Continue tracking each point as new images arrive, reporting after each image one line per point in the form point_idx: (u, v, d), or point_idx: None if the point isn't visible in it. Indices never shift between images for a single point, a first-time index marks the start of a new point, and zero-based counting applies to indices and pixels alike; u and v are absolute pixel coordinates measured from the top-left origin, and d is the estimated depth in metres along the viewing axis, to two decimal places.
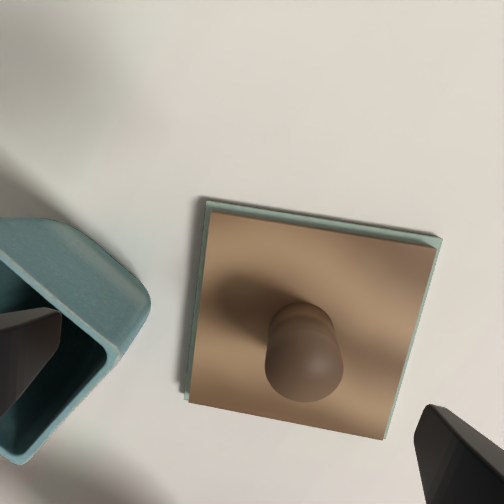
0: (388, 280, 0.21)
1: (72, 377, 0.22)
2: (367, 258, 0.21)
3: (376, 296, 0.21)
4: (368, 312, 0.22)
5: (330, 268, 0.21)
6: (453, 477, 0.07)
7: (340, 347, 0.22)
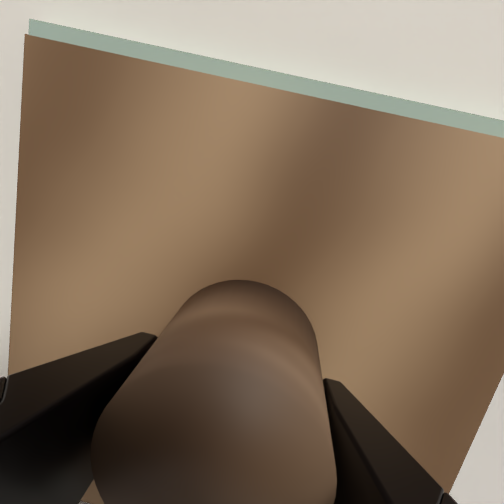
0: (109, 151, 0.09)
1: None
2: (59, 200, 0.09)
3: (149, 179, 0.09)
4: (191, 198, 0.09)
5: (89, 280, 0.10)
6: None
7: (282, 267, 0.09)
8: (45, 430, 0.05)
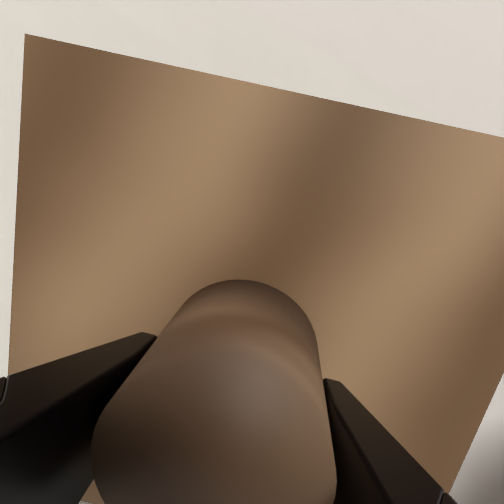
0: (109, 150, 0.09)
1: None
2: (59, 200, 0.09)
3: (149, 179, 0.09)
4: (191, 197, 0.09)
5: (89, 280, 0.10)
6: None
7: (282, 267, 0.09)
8: (45, 430, 0.05)
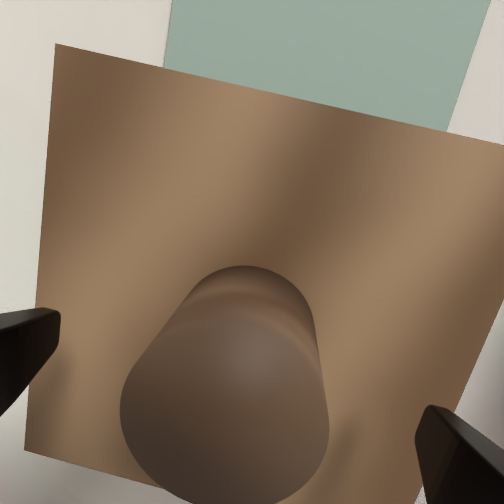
0: (129, 149, 0.10)
1: None
2: (83, 192, 0.10)
3: (164, 174, 0.10)
4: (202, 191, 0.10)
5: (108, 265, 0.11)
6: (454, 477, 0.07)
7: (283, 254, 0.10)
8: None
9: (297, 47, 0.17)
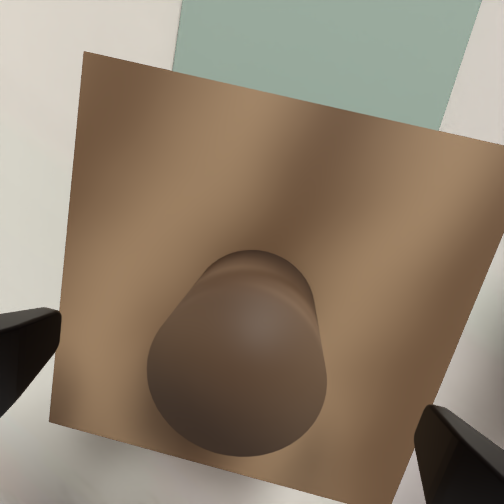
0: (148, 144, 0.11)
1: None
2: (107, 184, 0.11)
3: (180, 168, 0.11)
4: (213, 182, 0.11)
5: (128, 250, 0.12)
6: (453, 477, 0.07)
7: (286, 239, 0.11)
8: None
9: (298, 51, 0.18)
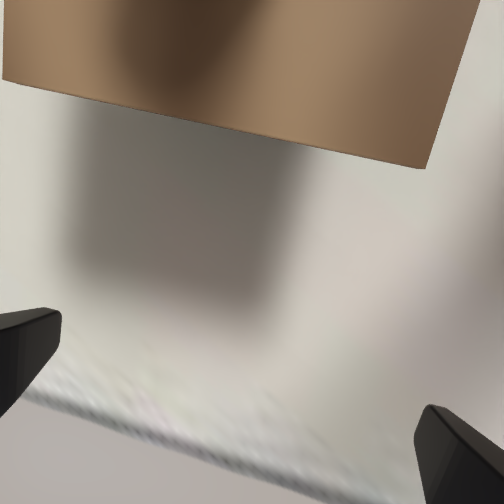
0: None
1: None
2: None
3: None
4: None
5: None
6: (453, 477, 0.07)
7: None
8: None
9: None
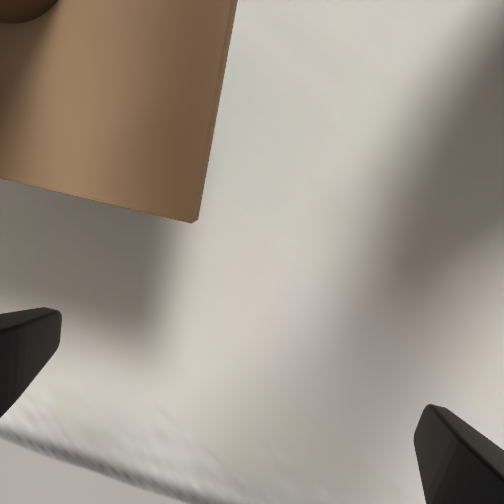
0: None
1: None
2: None
3: None
4: None
5: None
6: (453, 477, 0.07)
7: None
8: None
9: None
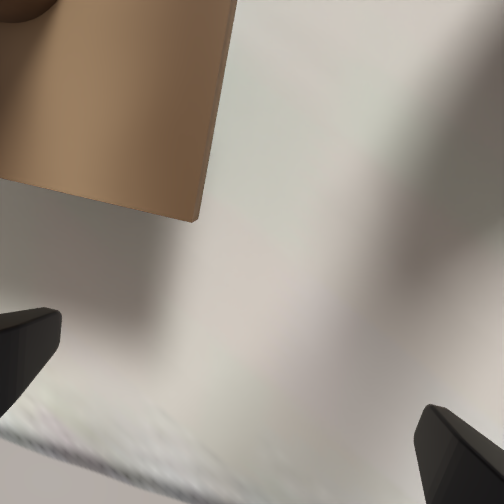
0: None
1: None
2: None
3: None
4: None
5: None
6: (453, 477, 0.07)
7: None
8: None
9: None
